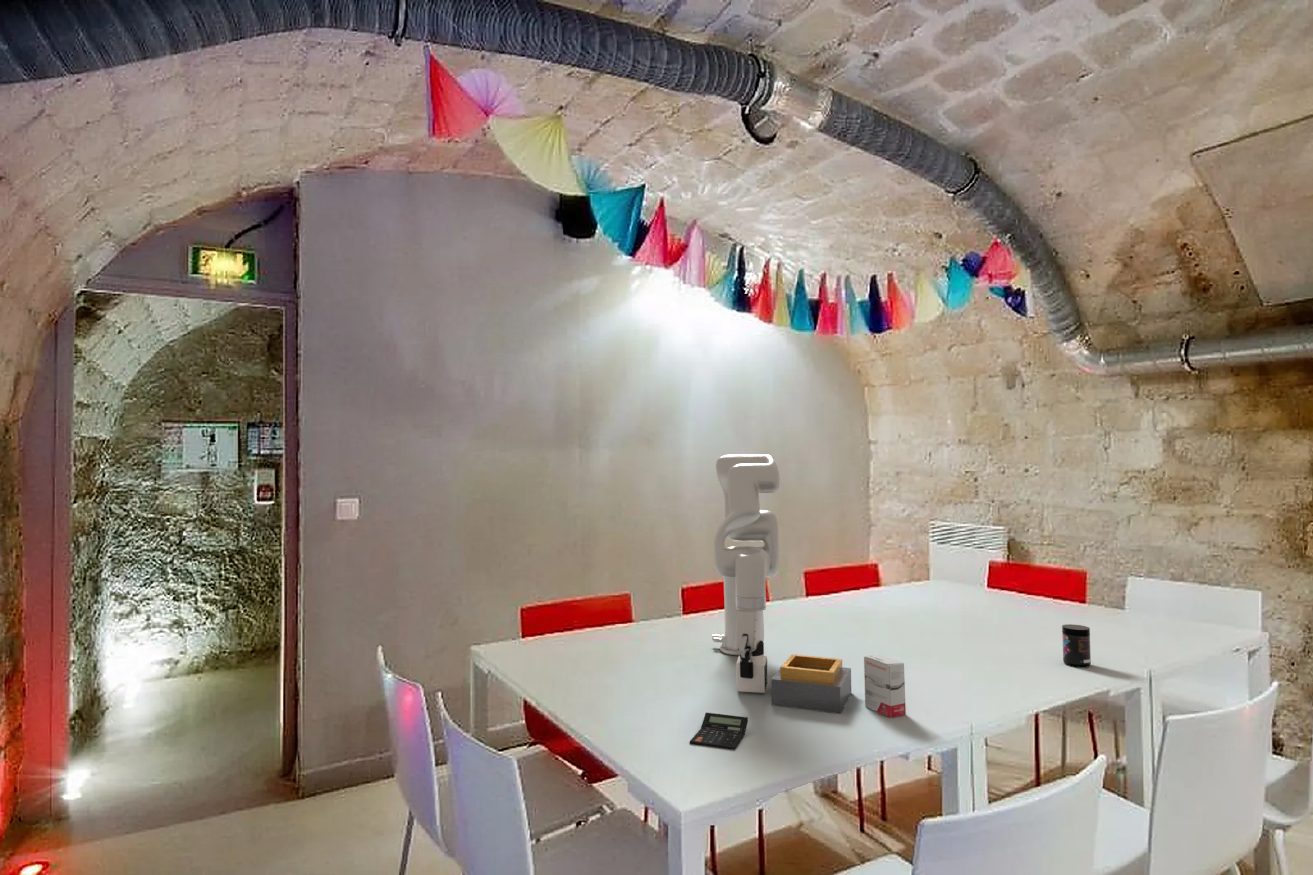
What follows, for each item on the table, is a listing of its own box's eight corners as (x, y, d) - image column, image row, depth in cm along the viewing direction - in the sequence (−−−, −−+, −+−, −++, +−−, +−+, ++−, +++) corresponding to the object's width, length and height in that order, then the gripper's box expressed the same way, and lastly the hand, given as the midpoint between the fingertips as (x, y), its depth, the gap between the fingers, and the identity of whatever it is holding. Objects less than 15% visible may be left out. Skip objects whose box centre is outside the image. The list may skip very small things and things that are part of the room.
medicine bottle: (765, 693, 175) (764, 644, 175) (736, 691, 176) (735, 643, 176) (767, 683, 182) (766, 636, 182) (739, 682, 183) (738, 635, 183)
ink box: (907, 715, 161) (905, 661, 161) (890, 718, 159) (889, 664, 159) (880, 703, 169) (879, 652, 169) (863, 706, 167) (862, 655, 167)
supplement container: (1072, 660, 203) (1071, 623, 204) (1096, 666, 197) (1095, 628, 198) (1057, 663, 200) (1056, 626, 200) (1081, 669, 194) (1080, 630, 194)
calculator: (689, 745, 145) (689, 730, 146) (706, 725, 156) (706, 711, 156) (734, 751, 142) (734, 736, 142) (748, 731, 153) (748, 716, 153)
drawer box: (771, 704, 168) (770, 668, 169) (789, 682, 185) (789, 649, 185) (840, 713, 162) (839, 675, 162) (852, 689, 179) (852, 655, 179)
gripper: (746, 594, 189) (747, 661, 189) (725, 608, 173) (726, 681, 173) (774, 596, 186) (775, 664, 186) (755, 611, 170) (756, 685, 170)
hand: (751, 672), depth 179 cm, fingers closed on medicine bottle, 8 cm apart
